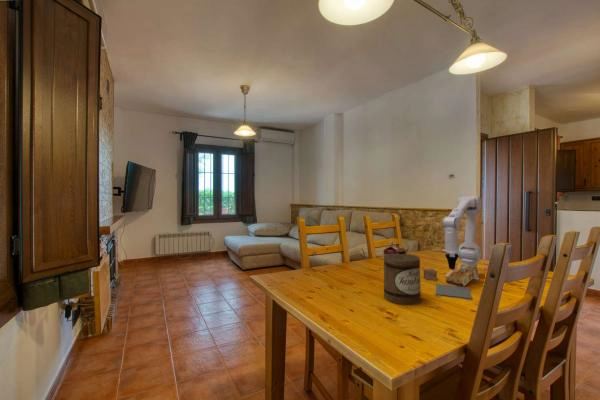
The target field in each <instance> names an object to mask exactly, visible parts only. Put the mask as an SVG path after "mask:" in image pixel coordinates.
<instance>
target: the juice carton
mask: <svg viewBox="0 0 600 400" xmlns="http://www.w3.org/2000/svg"><path fill="white" fill-rule="evenodd" d="M399 248H400V247H398V246H396V245H394V241H392V242H391V244H390V245H389V246H387V247H385V248H384V249H383V257H384V256H385V255H387V254H397V253H398V251H397V249H399Z"/></svg>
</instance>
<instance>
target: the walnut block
mask: <svg viewBox="0 0 600 400" xmlns="http://www.w3.org/2000/svg"><path fill="white" fill-rule="evenodd" d="M437 273H438V272H437V270H436V269H434V268H423V279H424V280H425V281H431V282H433V281H435V282H437V280H438V277H437V276H438V274H437Z"/></svg>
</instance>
